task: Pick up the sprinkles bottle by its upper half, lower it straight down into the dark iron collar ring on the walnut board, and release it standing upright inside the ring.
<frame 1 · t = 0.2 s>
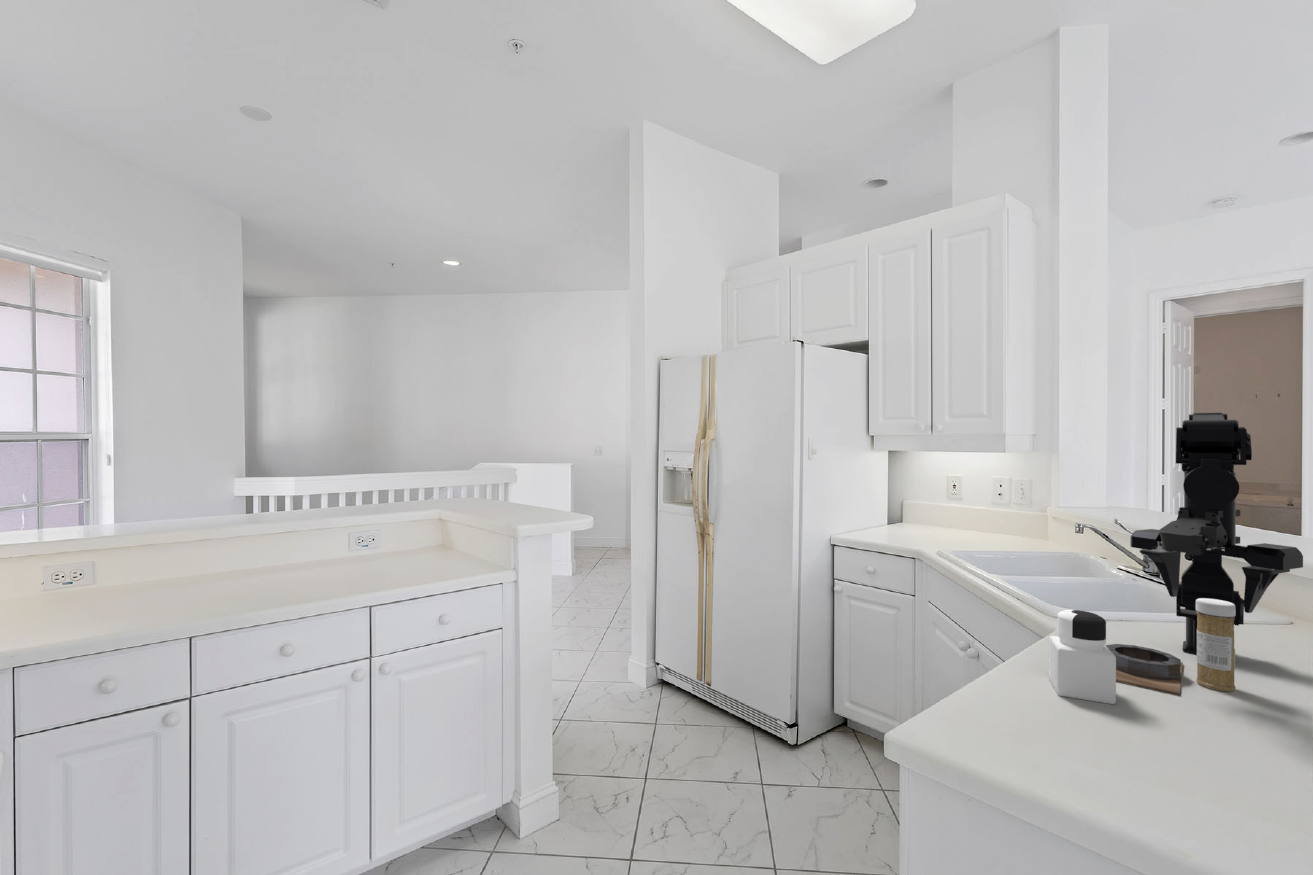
hand: (1209, 604, 89), 14 cm above the worktop, tool pointing down, fingers open, 9 cm apart
medicine bottle: (1080, 692, 90), on the worktop
sprinkles bottle: (1215, 687, 92), on the worktop
iron collar: (1141, 661, 99), on the walnut board
walnut board: (1141, 670, 99), on the worktop
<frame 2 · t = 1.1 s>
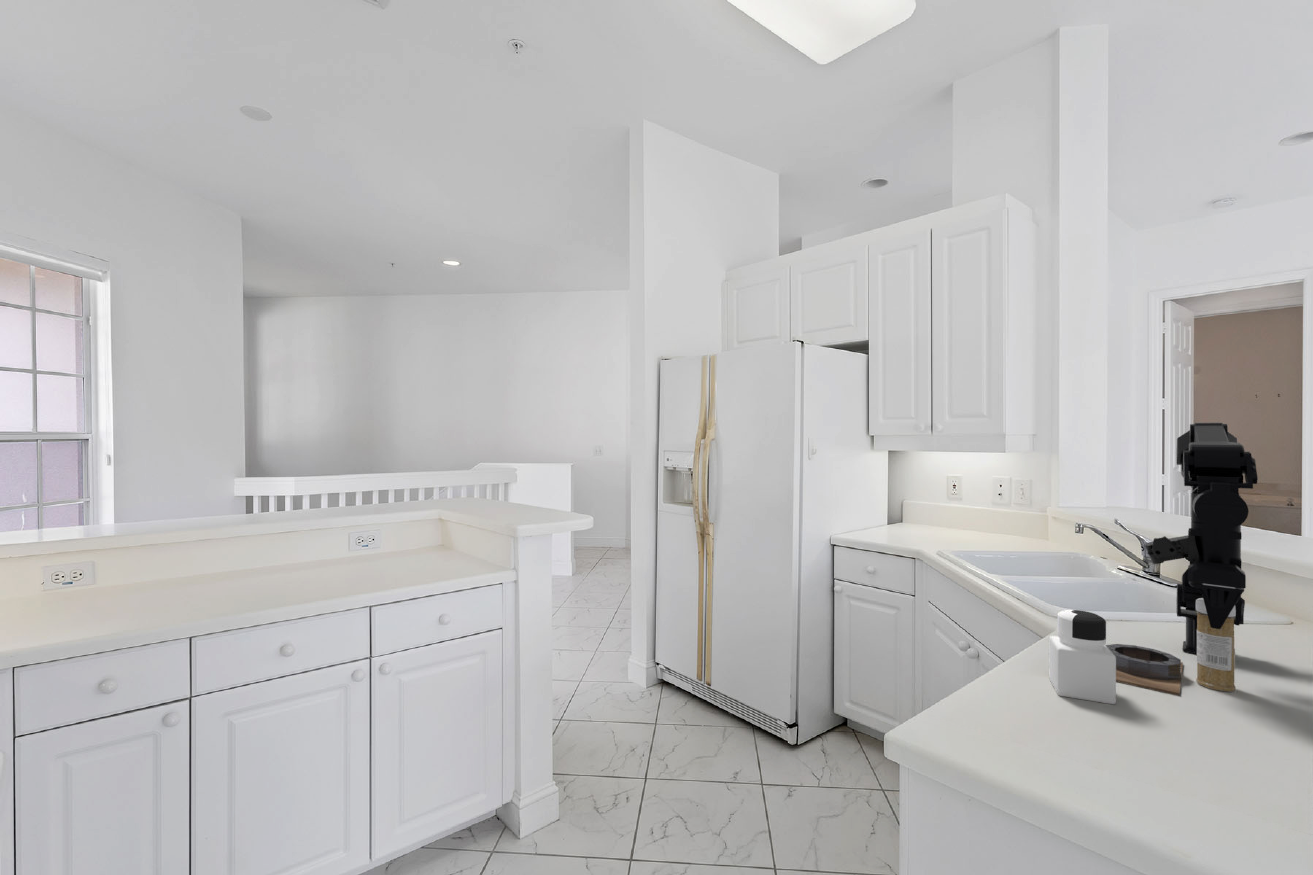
hand: (1215, 621, 93), 10 cm above the worktop, tool pointing down, fingers open, 9 cm apart
nothing on the worktop moved.
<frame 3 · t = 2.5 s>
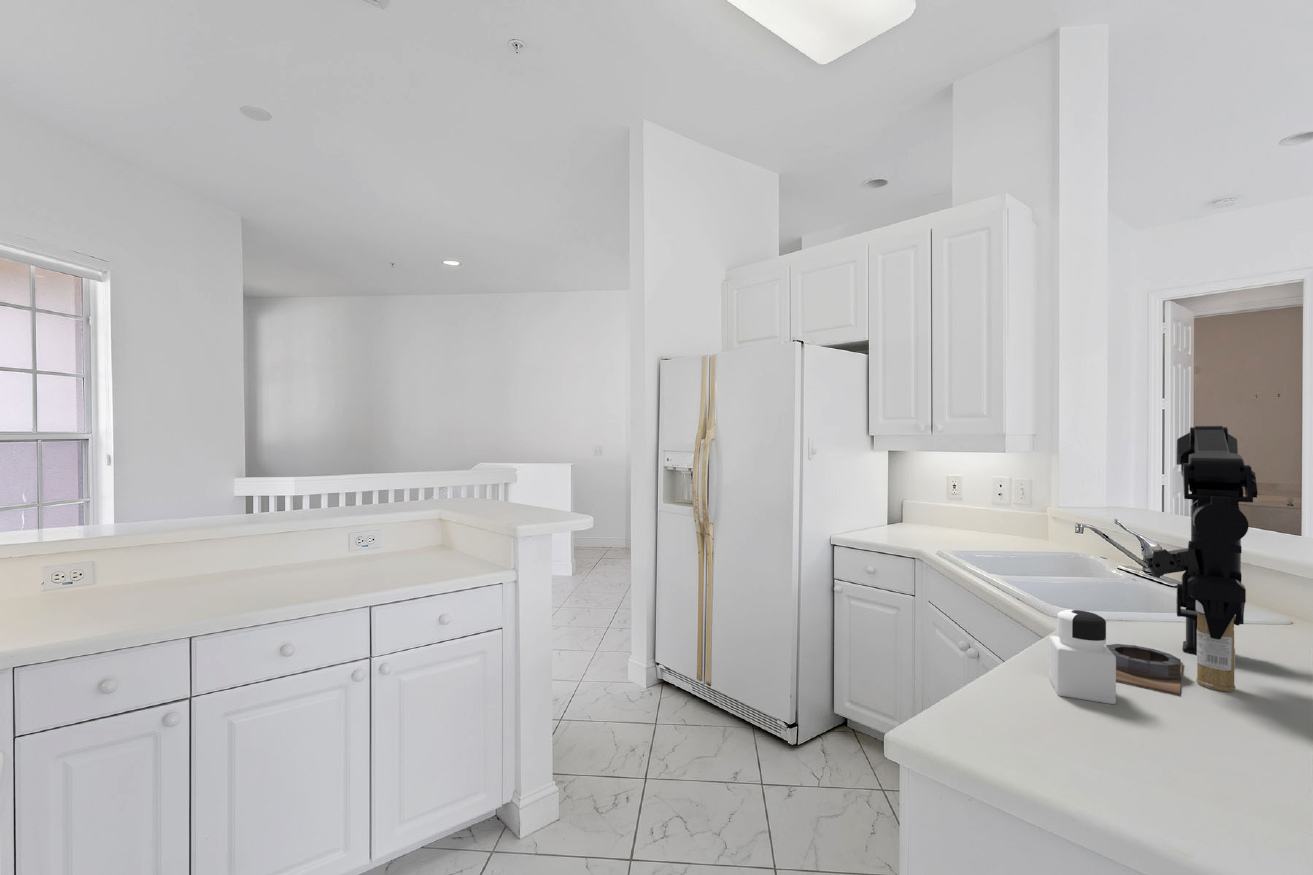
hand: (1215, 635, 93), 8 cm above the worktop, tool pointing down, fingers closed on sprinkles bottle, 4 cm apart
sprinkles bottle: (1215, 687, 92), on the worktop, touching gripper
everything else where it was.
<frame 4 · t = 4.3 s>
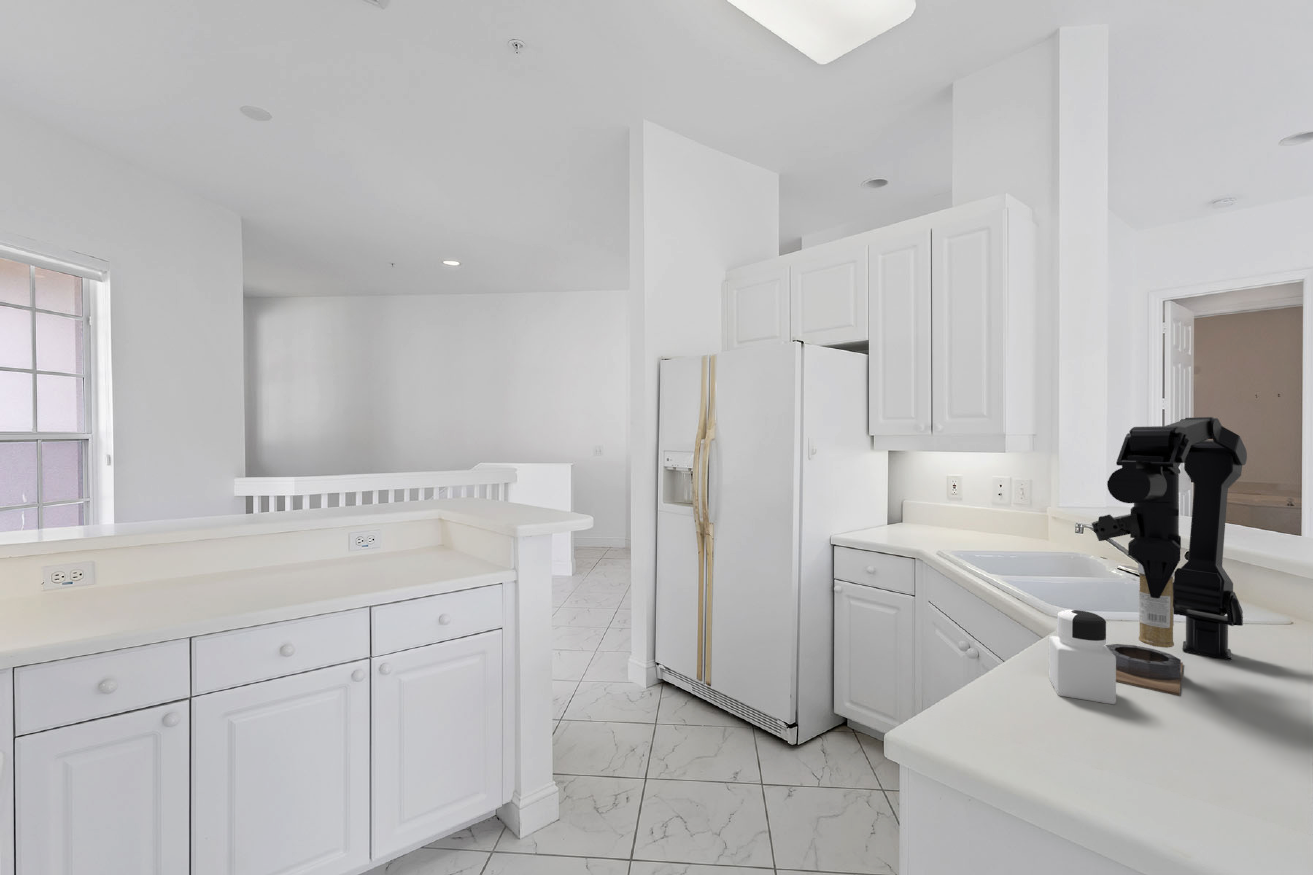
hand: (1155, 595, 97), 13 cm above the worktop, tool pointing down, fingers closed on sprinkles bottle, 4 cm apart
sprinkles bottle: (1155, 644, 97), point 5 cm above the worktop, touching gripper
everything else where it was.
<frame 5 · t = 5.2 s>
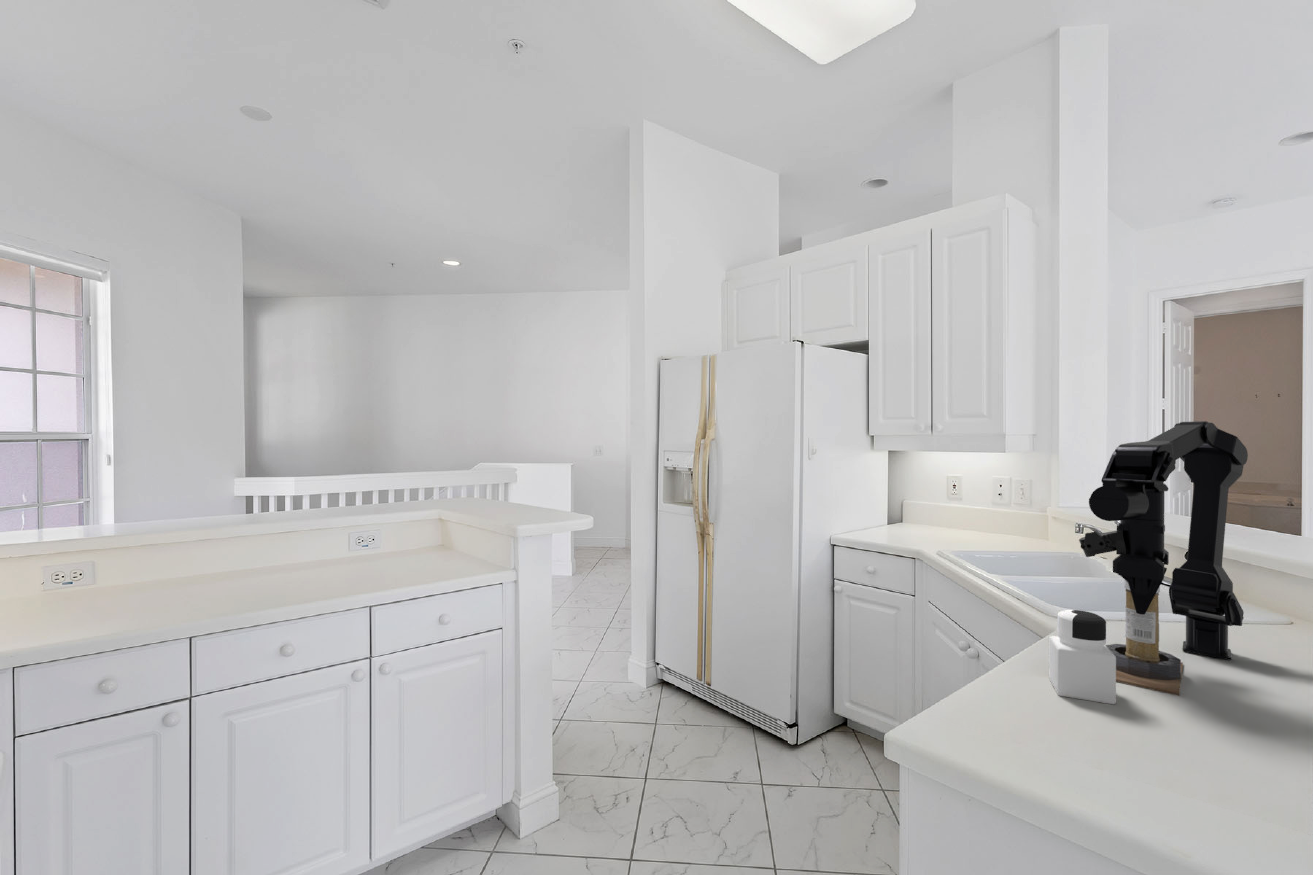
hand: (1141, 611, 99), 10 cm above the worktop, tool pointing down, fingers closed on sprinkles bottle, 4 cm apart
sprinkles bottle: (1141, 660, 99), point 2 cm above the worktop, touching gripper
everything else where it was.
when the fingers open (10 cm above the worktop, at t = 6.2 s): sprinkles bottle drops 1 cm, resting on walnut board.
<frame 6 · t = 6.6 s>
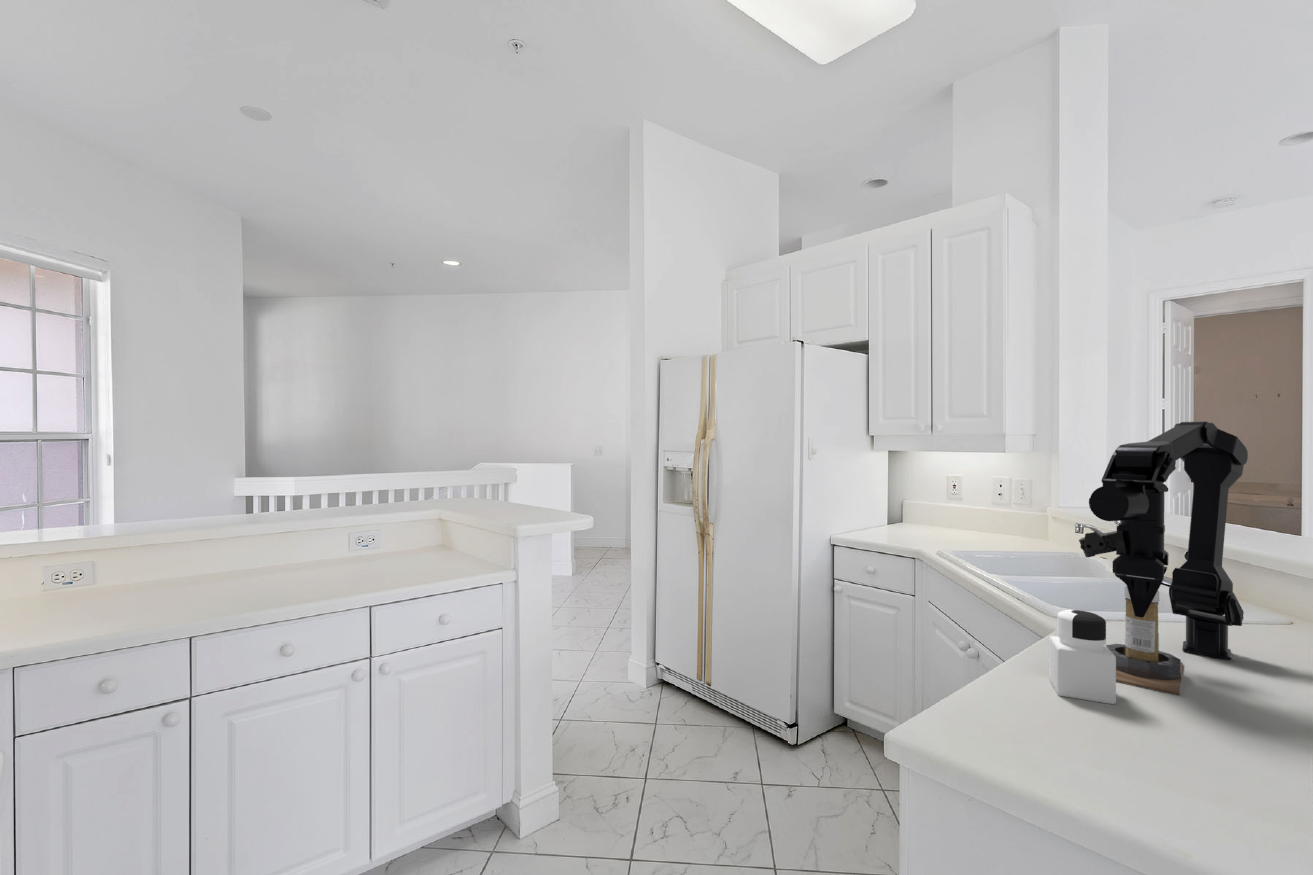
hand: (1141, 611, 99), 10 cm above the worktop, tool pointing down, fingers open, 8 cm apart
sprinkles bottle: (1141, 669, 99), resting on walnut board
everything else where it was.
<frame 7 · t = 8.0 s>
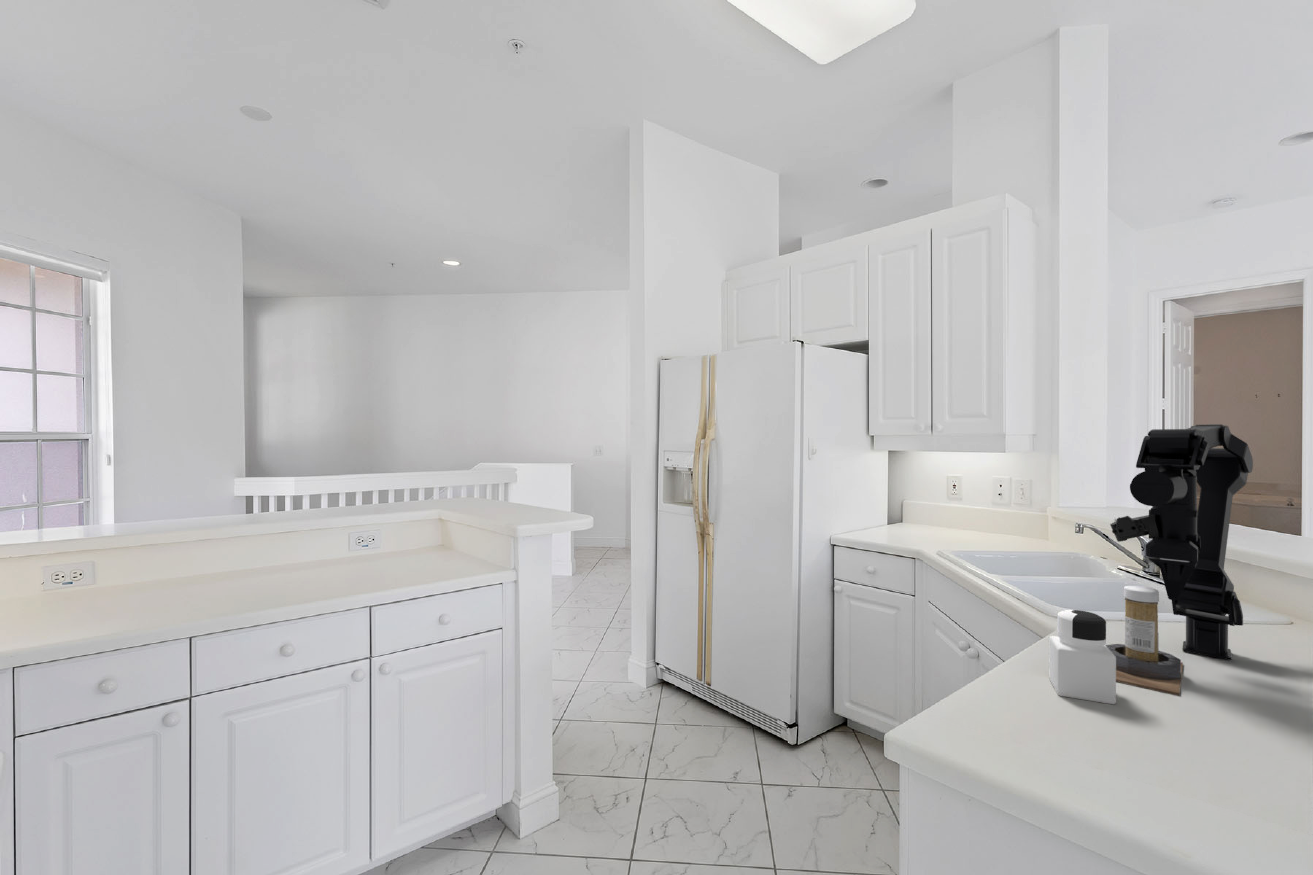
hand: (1174, 594, 100), 13 cm above the worktop, tool pointing down, fingers open, 9 cm apart
nothing on the worktop moved.
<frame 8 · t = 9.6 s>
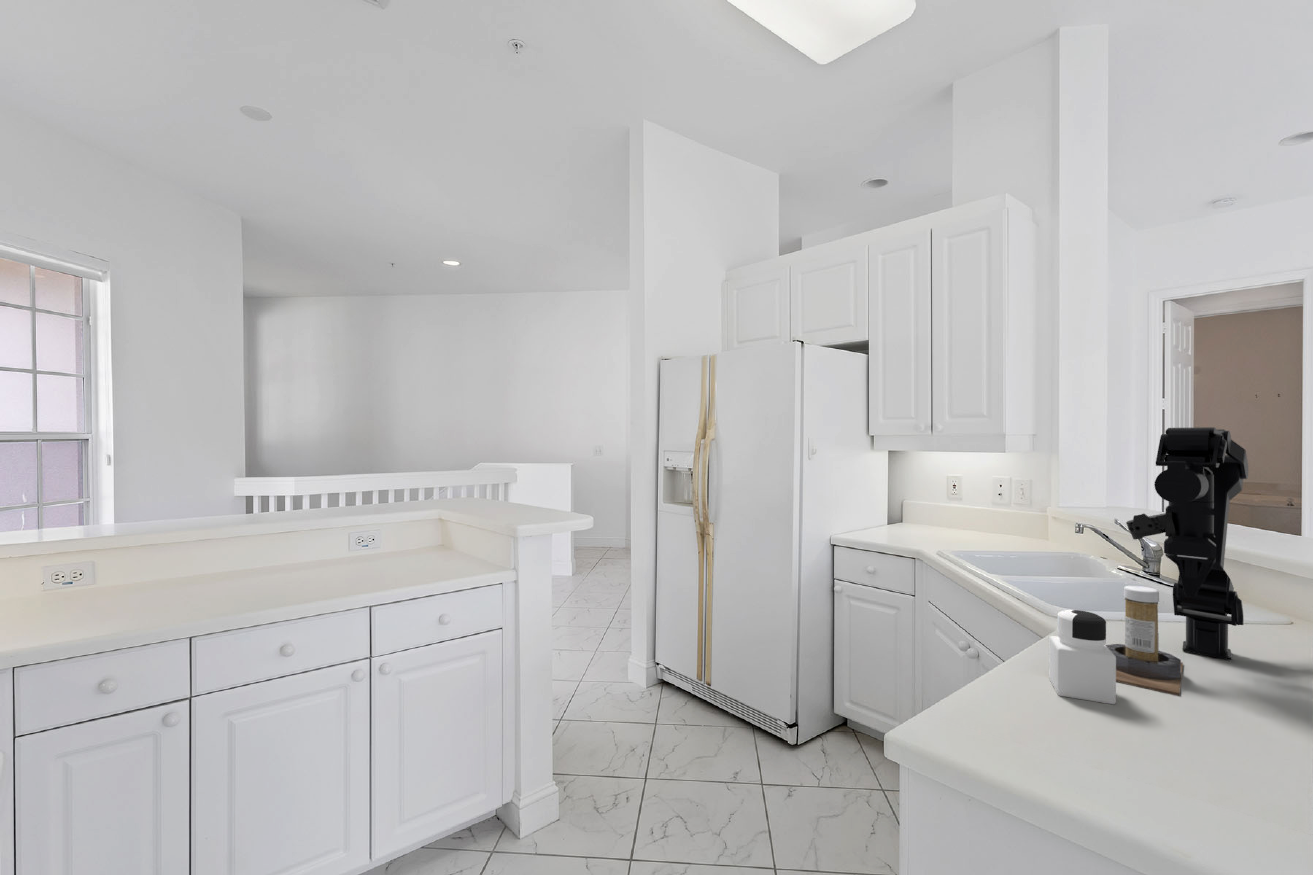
hand: (1190, 592, 100), 13 cm above the worktop, tool pointing down, fingers open, 9 cm apart
nothing on the worktop moved.
at the end: sprinkles bottle 0.2 cm off-centre on the iron collar, point 0.2 cm above the iron collar's base; sprinkles bottle tilted 0°; the gripper is holding nothing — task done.
